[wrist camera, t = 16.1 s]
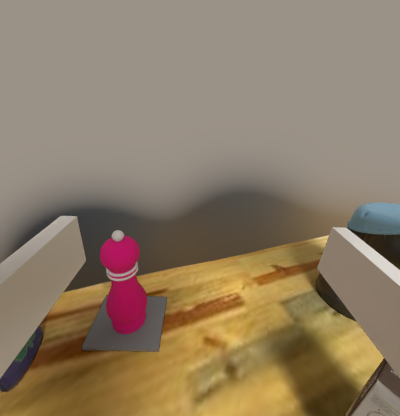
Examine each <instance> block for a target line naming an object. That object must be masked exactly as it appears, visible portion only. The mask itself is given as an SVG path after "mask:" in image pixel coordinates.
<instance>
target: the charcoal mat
mask: <svg viewBox="0 0 400 416" xmlns="http://www.w3.org/2000/svg"><path fill="white" fill-rule="evenodd" d="M107 297H108V295H106V297H105V300H104V302H103V304H102V306H101V308H100V310H99V312H98V314H97V316H96V318H95V320H94V322H93V324H92V326H91V328H90V331H89V333H88V335H87V337H86V339H85V341H84V343H83V345H82V350H101V351H153V352H159V346H160V340H161V333H162V327H163V320H164V314H165V308H166V301H167V297H150V296H147V307H146V319H145V322H144V324H143V325H142V327H141V328H139V329H138V330H137V331H135V332H133V333H130V334H120V333H118V332H116V331H115V330H114V328H113V326H112V321H111V319H110V318H109V316H108V315H107V311H106V302H107Z"/></svg>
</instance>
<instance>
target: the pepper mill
mask: <svg viewBox="0 0 400 416" xmlns="http://www.w3.org/2000/svg"><path fill="white" fill-rule="evenodd" d="M139 255H140V250H139V246H138V244H137V242H136V241H135V240H134V239H132V238H131V237H128V236H124V233H123V232H122V231H120V230H117V231H114V232H113V234H112V238H110V239H109V240H107V241H106V242H105V243H104V244H103V246H102V248H101V251H100V259H101V262H102V264H103V265H104V266H105V267H106V272H107V276H108V278H110V279H111V282H112V285H111V289H110V292H109V294H108V297H107V302H106V311H107V315H108V316H109V318H110V319H111V321H112V326H113V328H114V330H115V331H116V332H118V333H120V334H130V333H133V332H135V331H137V330H138V329H139V328H141V327H142V325H143V324H144V322H145V319H146V307H147V295H146V292H145V290H144V289H143V287H142V286H141V285H140V284H139V283H138V281H137V278H136V272H137V271H138V262H137V260H138V258H139Z"/></svg>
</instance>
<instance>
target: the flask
mask: <svg viewBox="0 0 400 416" xmlns="http://www.w3.org/2000/svg"><path fill="white" fill-rule="evenodd" d="M42 338H43V332H42V330H41V327H40V325H39V326H38V327H37V329H36V330H35V331H34V333H33V334H32V336H31V337H30V338H29V340H28V341H27V342H26V344H25V345H24V347H23V348H22V349H21V351H20V352H19V353H18V355H17V356H16V358H15V359H14V360H13V362H12V363H11V364H10V366H9V367H8V369H7V370H6V371H5V373H4V374H3V375H2V377H1V378H0V390H1V392H8V391H10V390H12V389H13V388H14V387H16V386H17V385H18V383H19V382H20V381H21V380H22V378H23V377H24V375H25V373H26V372H27V371H28V369H29V367H30V366H31V364H32V362H33V360H34V358H35V355H36V354H37V351H38V349H39V346H40V345H41V342H42Z"/></svg>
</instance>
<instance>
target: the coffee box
mask: <svg viewBox="0 0 400 416" xmlns="http://www.w3.org/2000/svg"><path fill="white" fill-rule="evenodd" d="M345 416H400V378H399V377H398V375H397V374H396V373H395V371H394V370H393V369H392V367H391V366H390V365H389V363H388V362H387V361H386V359H385V358H384V359H383V361H382V362H381V363H380V365H379V366H378V368H377V369H376V370H375V372H374V373H373V374H372V376H371V377H370V379H369V380H368V381H367V383H366V384H365V386H364V387H363V389H362V390H361V392H360V393H359V394H358V396H357V397H356V399H355V400H354V402H353V403H352V405H351V406H350V408H349V409H348V411H347V413H346V414H345Z"/></svg>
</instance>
